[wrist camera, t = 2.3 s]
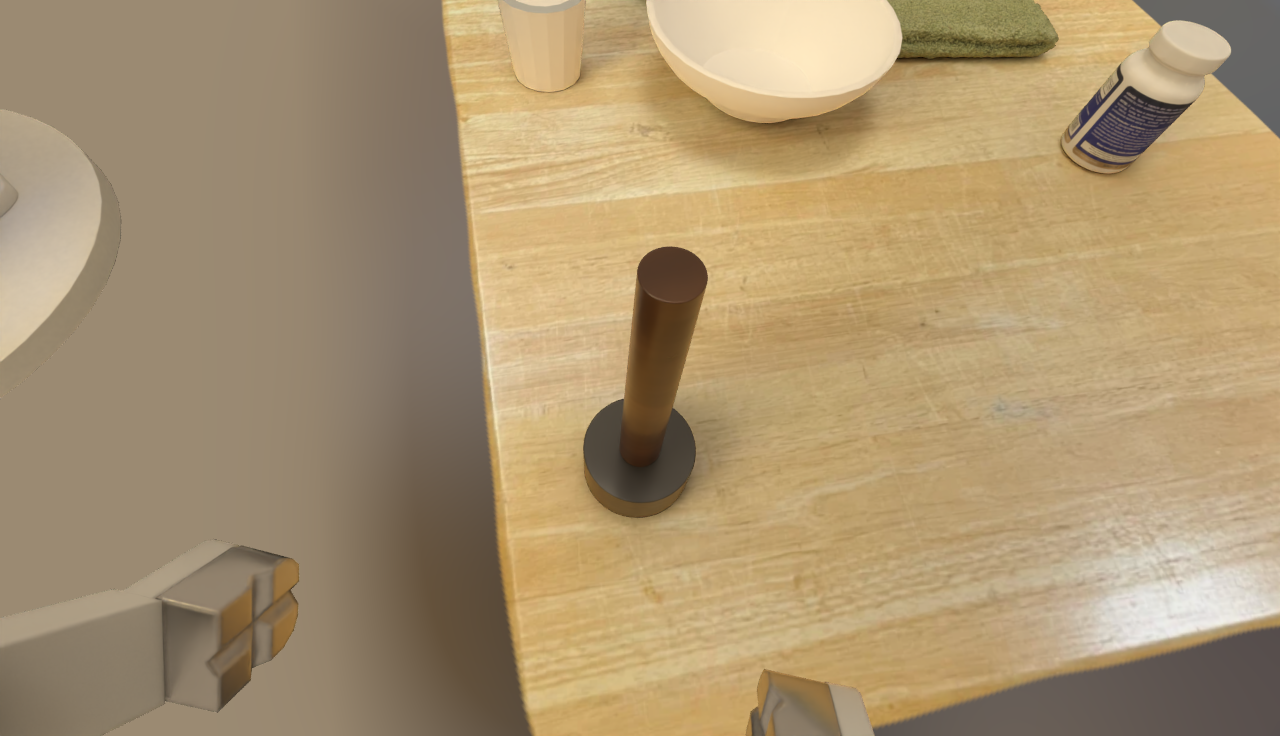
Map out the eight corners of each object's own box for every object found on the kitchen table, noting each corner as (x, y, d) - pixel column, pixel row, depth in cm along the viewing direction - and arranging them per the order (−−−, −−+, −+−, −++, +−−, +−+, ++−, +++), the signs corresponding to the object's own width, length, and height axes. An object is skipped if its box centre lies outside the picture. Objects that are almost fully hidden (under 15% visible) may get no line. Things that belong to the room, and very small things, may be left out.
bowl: (601, 123, 48) (602, 41, 42) (689, 0, 57) (700, -81, 51) (834, 206, 45) (871, 132, 39) (887, 64, 54) (923, -15, 48)
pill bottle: (1140, 171, 49) (1259, 60, 40) (1084, 180, 48) (1192, 68, 39) (1099, 125, 52) (1202, 11, 43) (1044, 133, 51) (1138, 17, 42)
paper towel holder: (563, 456, 34) (536, 256, 18) (643, 400, 36) (682, 175, 20) (628, 540, 32) (660, 396, 16) (709, 475, 34) (808, 291, 18)
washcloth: (840, -20, 60) (852, -55, 57) (1004, -12, 61) (1024, -46, 59) (869, 61, 54) (884, 27, 51) (1051, 68, 55) (1076, 35, 52)
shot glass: (604, 67, 51) (605, -18, 45) (554, 108, 48) (548, 23, 42) (541, 35, 52) (534, -52, 46) (489, 73, 50) (474, -14, 43)
